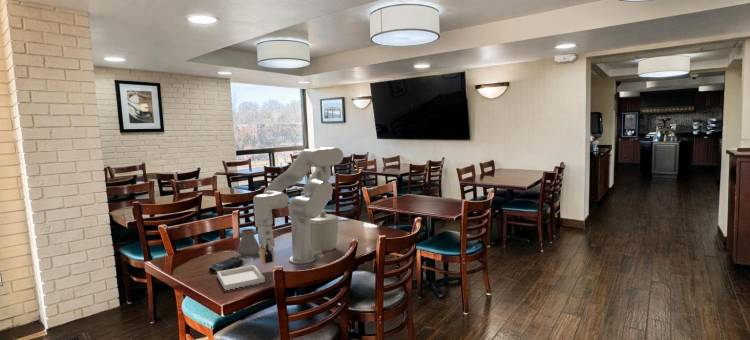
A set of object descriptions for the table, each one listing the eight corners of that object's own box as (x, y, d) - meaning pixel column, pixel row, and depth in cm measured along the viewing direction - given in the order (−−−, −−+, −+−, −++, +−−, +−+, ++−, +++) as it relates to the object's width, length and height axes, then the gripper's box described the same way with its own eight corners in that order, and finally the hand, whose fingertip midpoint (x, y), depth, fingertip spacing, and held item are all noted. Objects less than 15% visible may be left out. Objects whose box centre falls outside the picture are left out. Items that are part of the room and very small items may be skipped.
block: (271, 259, 188) (270, 244, 187) (274, 262, 183) (273, 247, 182) (260, 261, 185) (259, 247, 184) (263, 264, 181) (262, 249, 180)
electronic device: (228, 265, 198) (204, 271, 184) (230, 254, 198) (206, 259, 184) (243, 270, 194) (219, 276, 180) (245, 259, 194) (221, 264, 180)
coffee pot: (246, 259, 200) (244, 230, 199) (232, 255, 207) (231, 227, 206) (279, 249, 217) (278, 221, 216) (266, 245, 224) (265, 219, 223)
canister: (317, 256, 204) (316, 215, 202) (300, 248, 218) (299, 210, 216) (347, 249, 215) (346, 210, 213) (328, 242, 229) (327, 205, 227)
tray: (254, 270, 185) (254, 265, 185) (265, 282, 170) (264, 277, 169) (217, 277, 177) (217, 271, 177) (225, 291, 162) (224, 285, 161)
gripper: (277, 224, 176) (281, 264, 179) (266, 216, 191) (270, 253, 193) (260, 227, 172) (264, 267, 175) (250, 219, 187) (254, 256, 190)
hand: (267, 259), depth 184 cm, fingers closed on block, 5 cm apart
